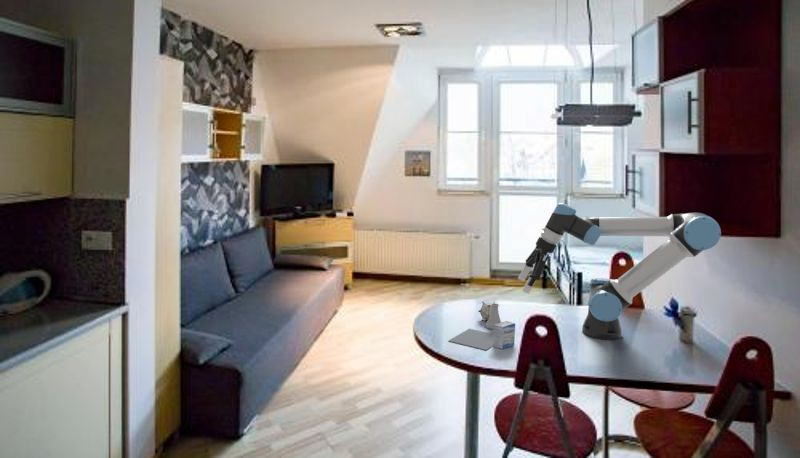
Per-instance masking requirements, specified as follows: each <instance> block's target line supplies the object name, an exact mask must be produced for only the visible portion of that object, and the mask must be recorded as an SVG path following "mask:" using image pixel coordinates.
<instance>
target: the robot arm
mask: <svg viewBox="0 0 800 458" xmlns="http://www.w3.org/2000/svg"><path fill="white" fill-rule="evenodd" d="M576 213H577V209H575V207H573V206H570V205H569V204H566V203H565V202H564V203H563V202H559V203H557V205H556V206H555V208H554V210H553V211H552V213H551V215H550V216H549V219H548V221H547V222H546V225H544V228H542V229H541V231H542V232H541V233H540V236H539V237H538V238H537V240H536V242H535V248H534V249H533V251H532V252H531V253H530V254H529V255H528V257H527V258H526V259H525V264H524V266H523V269H522V271H521V272H520V274H519V275H518V277H517V280H520V281H522V282H525V281H526V279H527V277H528V275H529V273H530V272H531V270H532V273H531V274H530V275H529V277H528V279H527V281H526V283H525V284H524V286H523V288H522V290H521V291H522V292H524V293H526V294H530V292H531V291H532V289H533V287H534V285H535V284H536V282H537V281H540V278H541V276H542V273H543V271H544V268H545V265H546V263H547V261H548V259H549V256H547V255H548V253H549V254H553V253H554V252H555V250H556V248H557V245H558V244H559V243H560V241H561V240H562V238H563V235H564V234H565V233H566V234H568V235H571V236H572V237H574V238H577V239H578V240H580V241H581V242H584V243H585V244H587V245H590V246H594V245H596V243H597V242H598V240H599V239H600V237H668V238H669V239H667V240H666V241H665V242H663V243H662V244H661V245H659V247H657V248H656V249H655V250H654V251H652V252H651V253H649V254H648V255H647V256H645V257H644V258H643V259H642V260H641V261H639V262H638V263H637V264H634V265H633V266H632V267H631V268H630V269H628V270H627V271H626V272H625V273H623V274H622V275H621V276H620V277H618V278H617V279H612V278H605V277H603V278H602V277H601V278H600V277H592V278H591V279H590V283H589V296H588V297H589V298H588V301H587V302H588V303H587V304H588V307H587V308H588V310H587V315H586V318H585V319H584V322H583V325H582V330H581V331H582V333H583V334H584V335H586V336H588V337H592V338H593V339H599V338H601V339H600V340H609V339H611V340H618V339H620V338H621V337H622V333H623V332H622V328H621V327H622V326H621V323H620V319H619V317H620V316H621V314H622V312H623V311H624V310H625V309H626V308H629V306H630V305H632V304H633V298H634V297H635V296H637V295H638V294H640V293H641V292H642V291H643V290H645V289H646V288H647V287H649V286H650V285H651V284H653V283H654V282H655V281H657V280H658V279H660V278H661V277H662V276H663V275H665V274H666V273H667V272H669V271H671V269H673V268H674V267H676V266H677V265H679V264H680V263H681V262H682V261H683V260H685V259H686V258H695V257H696V256H697V255H698V256H699V254H701V253H702V252H703V251H706V250H707V251H708V250H710V249H712V248H714V247H715V246H717V244H718V243H719V241H720V239H721V237H722V236H721V235H722V232H721V231H722V230H721V227H720V225H719V223H718V222H717V221H716V220H715V219H714V218H713V217H711V216H710V215H708V214H705V213H702V212H687V213H674V214H673V213H670V215H668V216H634V217H633V216H631V217H629V216H625V217H623V216H619V217H618V216H617V217H615V216H613V217H610V216H609V217H608V216H605V217H603V216H602V217H601V216H600V217H591V216H582V217H580V216H579V215H576ZM619 337H620V338H619ZM617 338H618V339H617Z"/></svg>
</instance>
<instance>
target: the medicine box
mask: <svg viewBox="0 0 800 458" xmlns="http://www.w3.org/2000/svg"><path fill="white" fill-rule="evenodd" d="M492 334H493V346H492V347H494V348H497V349H501V350H504V349H507V348H509V347H512V346H514V345H515V341H516V340H515V336H516V323H515V322H512V321H507V320H506V321H501V323H499V324H495V325H494V329H493V333H492Z"/></svg>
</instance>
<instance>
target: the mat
mask: <svg viewBox="0 0 800 458" xmlns="http://www.w3.org/2000/svg"><path fill="white" fill-rule="evenodd" d="M448 342H450V343H454V344H458V345H462V346H467V347H469V348H474V349H478V350H482V351H489V349H490V348H492V347H494V346H493V333H490V332H485V331H481V330H478V329H472V328H468V329H467V330H464V331H463V332H461V333H459V334H457V335H456V336H454V337H452V338H451V339H448Z"/></svg>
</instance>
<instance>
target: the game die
mask: <svg viewBox="0 0 800 458" xmlns="http://www.w3.org/2000/svg"><path fill="white" fill-rule="evenodd" d="M481 303H482V305H481V308H480V309H478V311H477V312H478V313H480V315H481V317H482V319H481V321H482V322H484V320H487V321H488V319H489V316H490V314H491V310H492V306H491V304H492V303H489V302H488V303H486V302H484V301H482V302H481ZM493 303H496V302H495V301H494V302H493Z"/></svg>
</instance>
